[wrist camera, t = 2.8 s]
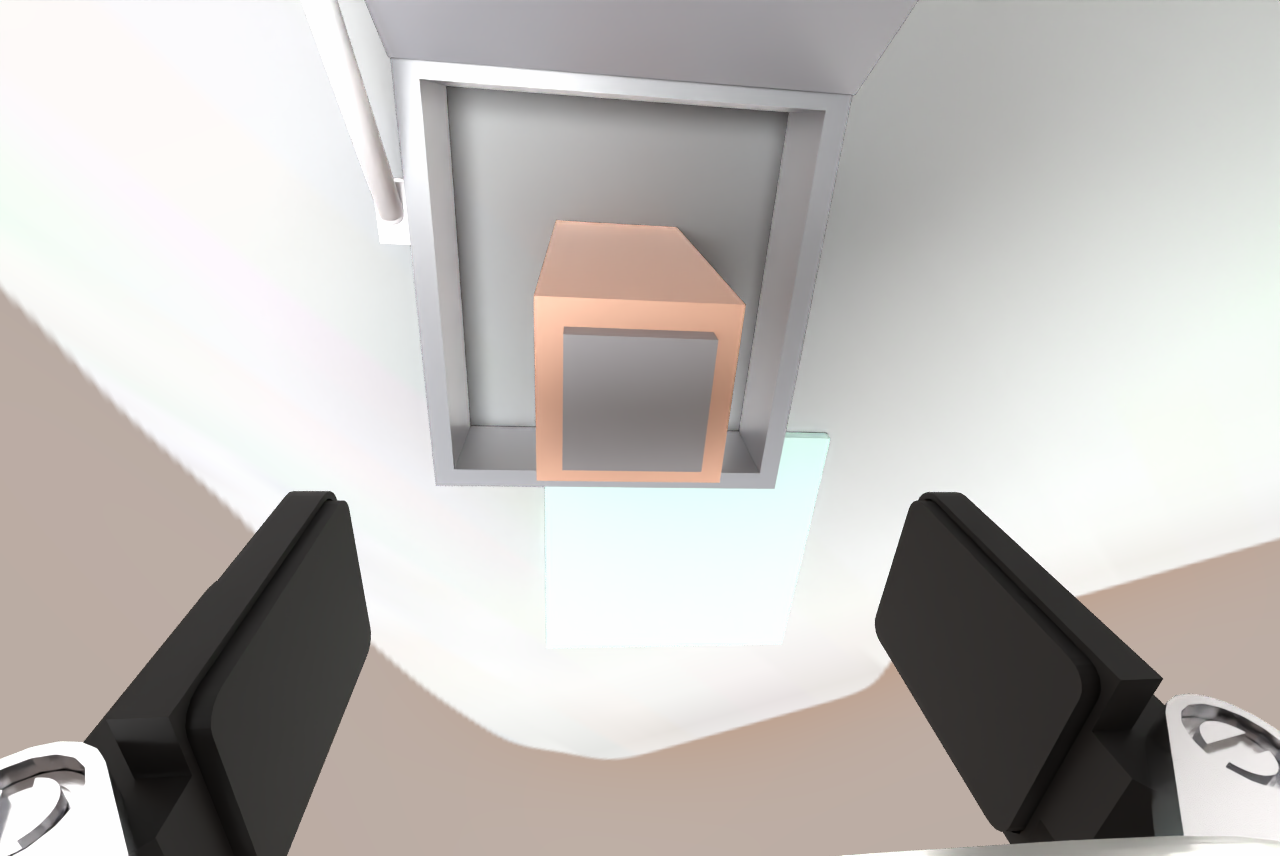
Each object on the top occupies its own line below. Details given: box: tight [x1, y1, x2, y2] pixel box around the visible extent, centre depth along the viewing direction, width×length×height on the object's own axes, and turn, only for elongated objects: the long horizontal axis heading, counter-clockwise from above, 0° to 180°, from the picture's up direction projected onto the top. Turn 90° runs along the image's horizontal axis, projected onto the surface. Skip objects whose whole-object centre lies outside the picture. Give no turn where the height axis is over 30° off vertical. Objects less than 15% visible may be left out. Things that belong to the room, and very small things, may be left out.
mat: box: [545, 432, 830, 648], centre depth 32 cm, size 14×14×1 cm
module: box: [534, 220, 746, 483], centre depth 20 cm, size 5×5×13 cm
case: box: [301, 0, 918, 489], centre depth 16 cm, size 16×25×17 cm, turn 177°
